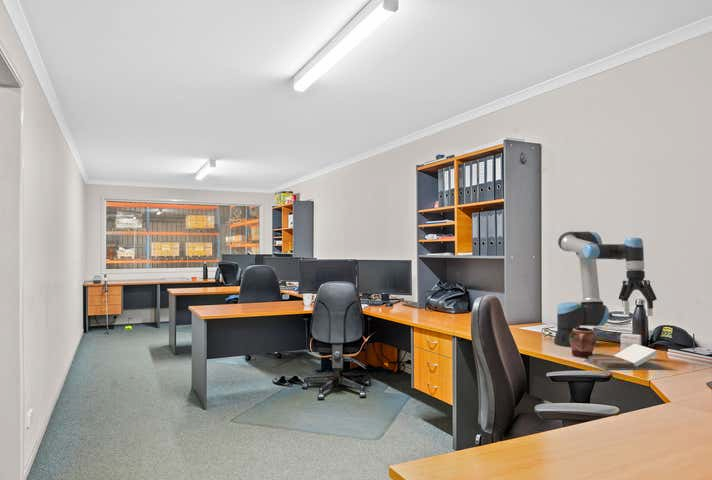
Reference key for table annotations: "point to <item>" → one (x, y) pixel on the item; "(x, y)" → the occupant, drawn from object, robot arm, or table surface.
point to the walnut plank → (610, 362)
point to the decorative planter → (582, 342)
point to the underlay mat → (640, 367)
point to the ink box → (629, 340)
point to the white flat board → (636, 354)
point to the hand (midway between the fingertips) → (637, 315)
